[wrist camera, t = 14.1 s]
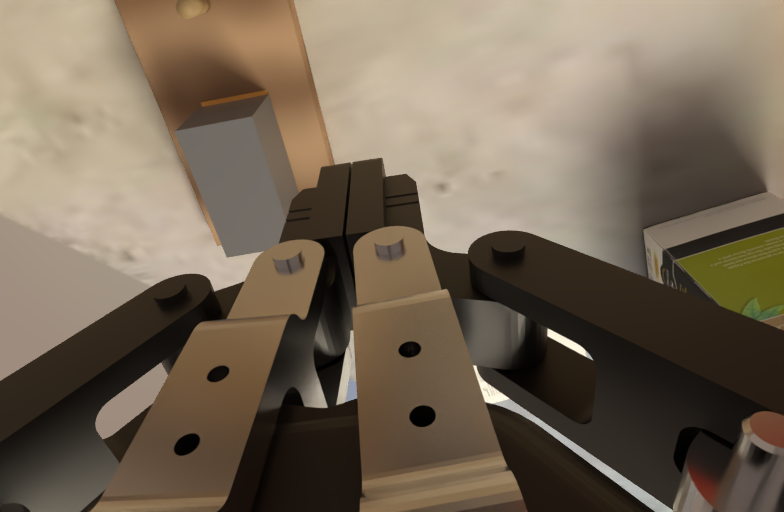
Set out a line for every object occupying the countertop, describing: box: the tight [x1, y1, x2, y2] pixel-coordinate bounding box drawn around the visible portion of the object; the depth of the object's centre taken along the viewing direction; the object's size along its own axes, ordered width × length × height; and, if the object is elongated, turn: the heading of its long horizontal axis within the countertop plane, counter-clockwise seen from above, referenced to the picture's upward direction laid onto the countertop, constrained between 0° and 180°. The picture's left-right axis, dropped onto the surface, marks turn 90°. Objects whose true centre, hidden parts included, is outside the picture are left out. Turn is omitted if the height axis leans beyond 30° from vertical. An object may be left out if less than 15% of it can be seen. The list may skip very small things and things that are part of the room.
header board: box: [115, 0, 335, 246], centre depth 32 cm, size 22×10×5 cm, turn 10°
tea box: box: [643, 192, 784, 330], centre depth 37 cm, size 15×10×15 cm, turn 20°
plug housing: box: [174, 94, 299, 257], centre depth 33 cm, size 9×5×5 cm, turn 10°
